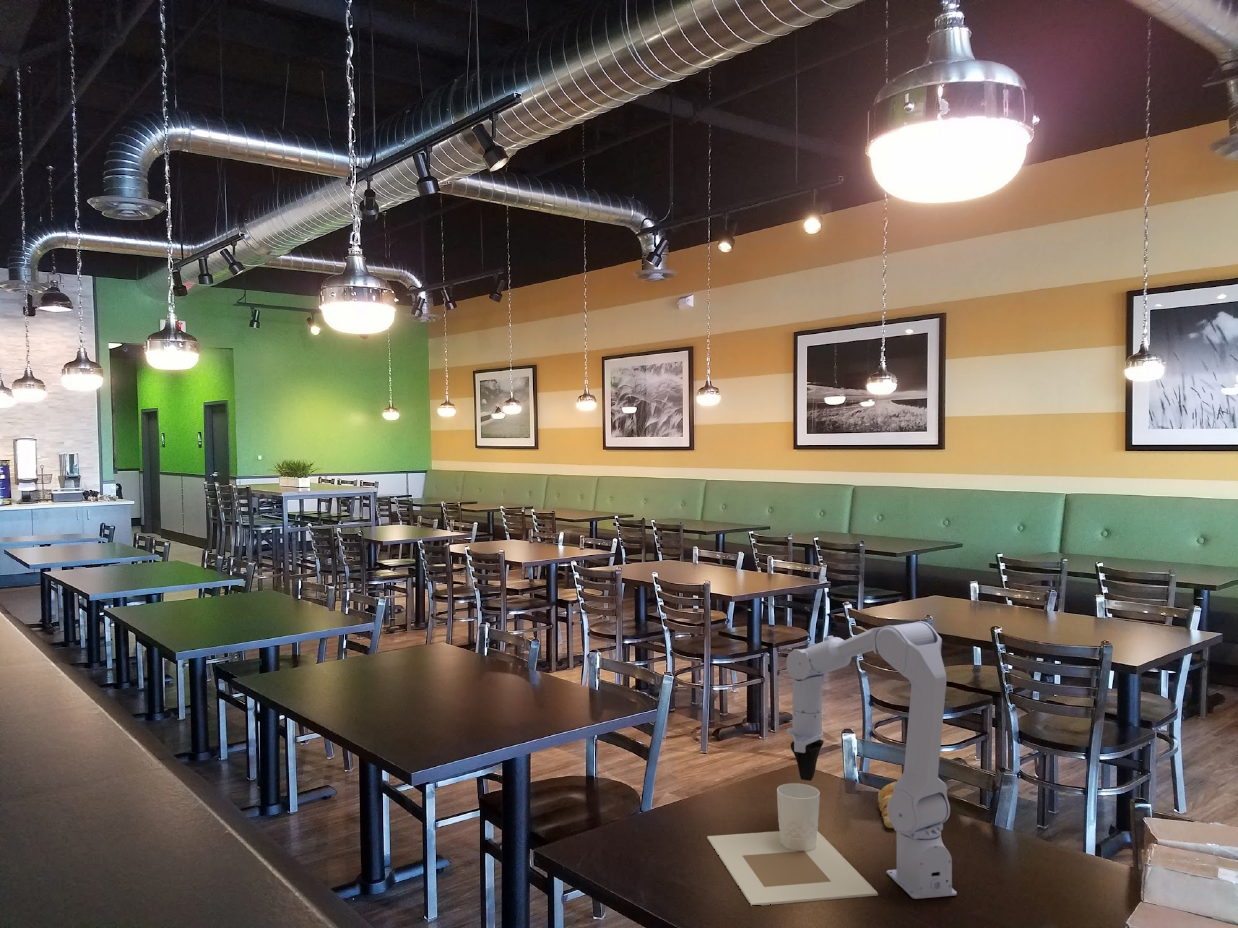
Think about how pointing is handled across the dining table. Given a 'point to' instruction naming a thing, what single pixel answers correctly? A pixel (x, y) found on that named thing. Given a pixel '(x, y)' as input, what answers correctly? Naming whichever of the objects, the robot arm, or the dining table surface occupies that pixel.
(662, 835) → the dining table surface
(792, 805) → the white cup
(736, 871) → the placemat
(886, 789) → the croissant
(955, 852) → the dining table surface
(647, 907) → the dining table surface
